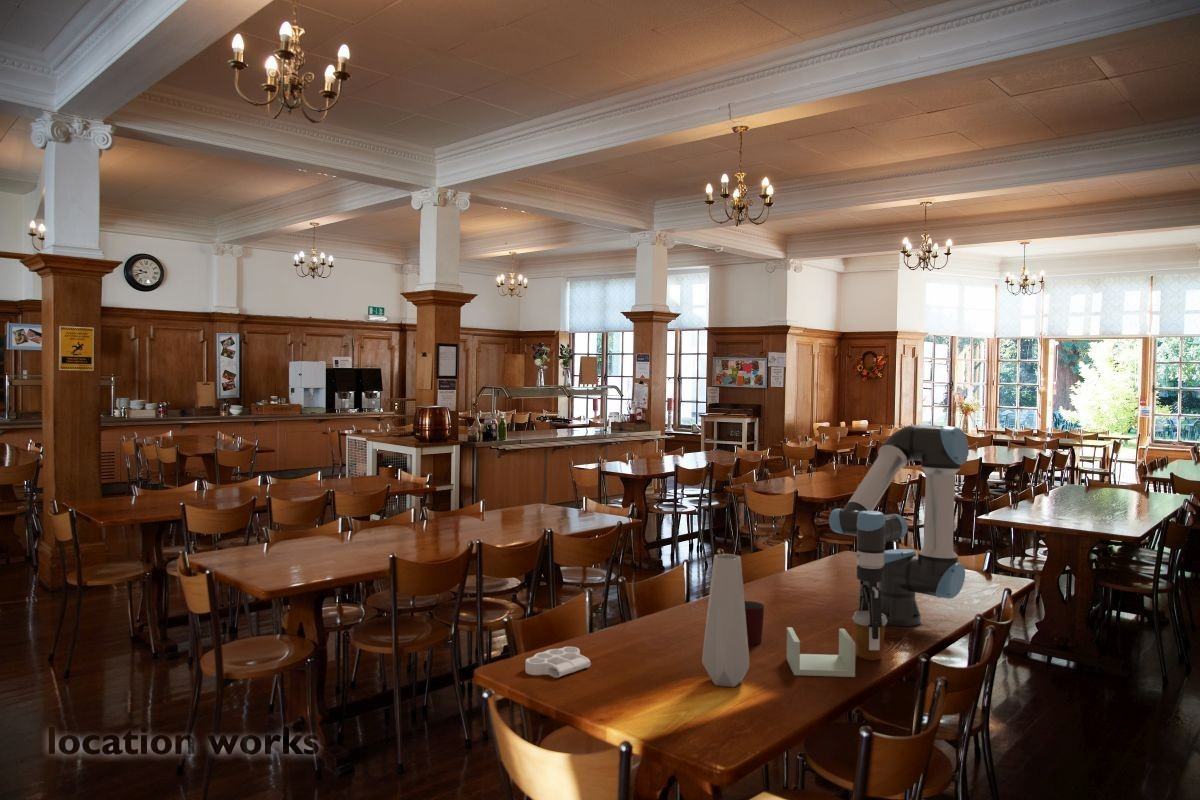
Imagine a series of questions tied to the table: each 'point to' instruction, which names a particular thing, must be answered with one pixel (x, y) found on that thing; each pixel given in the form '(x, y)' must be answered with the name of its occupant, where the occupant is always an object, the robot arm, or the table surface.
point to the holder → (822, 658)
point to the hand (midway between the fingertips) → (869, 644)
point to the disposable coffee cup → (867, 635)
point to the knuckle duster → (556, 662)
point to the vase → (726, 624)
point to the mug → (754, 621)
